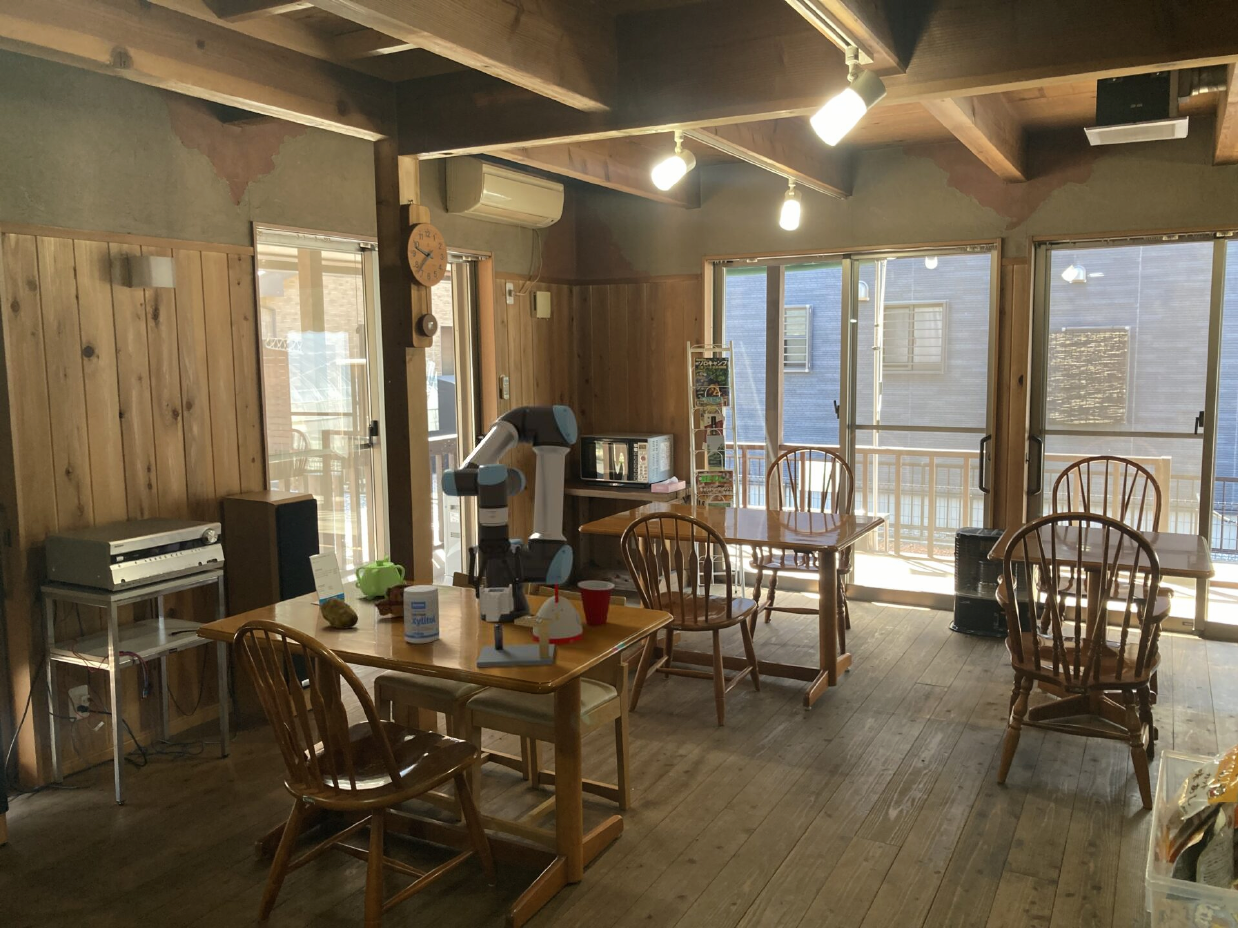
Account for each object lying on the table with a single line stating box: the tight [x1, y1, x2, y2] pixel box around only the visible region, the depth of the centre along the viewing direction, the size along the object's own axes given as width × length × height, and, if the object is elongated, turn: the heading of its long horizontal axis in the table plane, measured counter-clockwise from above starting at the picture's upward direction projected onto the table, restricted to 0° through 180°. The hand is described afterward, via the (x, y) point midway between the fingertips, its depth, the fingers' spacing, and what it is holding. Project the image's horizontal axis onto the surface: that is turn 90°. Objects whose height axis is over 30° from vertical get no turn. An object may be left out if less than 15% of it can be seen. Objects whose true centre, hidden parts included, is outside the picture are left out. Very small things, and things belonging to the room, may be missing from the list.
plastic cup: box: [577, 580, 615, 627], centre depth 281 cm, size 11×11×12 cm
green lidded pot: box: [354, 554, 408, 601], centre depth 324 cm, size 16×14×13 cm
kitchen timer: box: [532, 584, 584, 645], centre depth 267 cm, size 14×14×15 cm
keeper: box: [513, 615, 553, 658], centre depth 246 cm, size 5×9×9 cm, turn 56°
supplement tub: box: [403, 584, 440, 644], centre depth 268 cm, size 10×10×15 cm
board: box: [476, 644, 556, 668], centre depth 249 cm, size 14×19×1 cm
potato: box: [320, 597, 359, 629], centre depth 285 cm, size 8×13×8 cm, turn 35°
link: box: [481, 587, 510, 622], centre depth 247 cm, size 15×7×6 cm, turn 1°
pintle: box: [493, 623, 504, 650], centre depth 253 cm, size 2×2×6 cm
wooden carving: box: [374, 583, 417, 617], centre depth 296 cm, size 16×5×10 cm, turn 116°
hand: (496, 609), depth 252 cm, fingers closed on link, 7 cm apart
